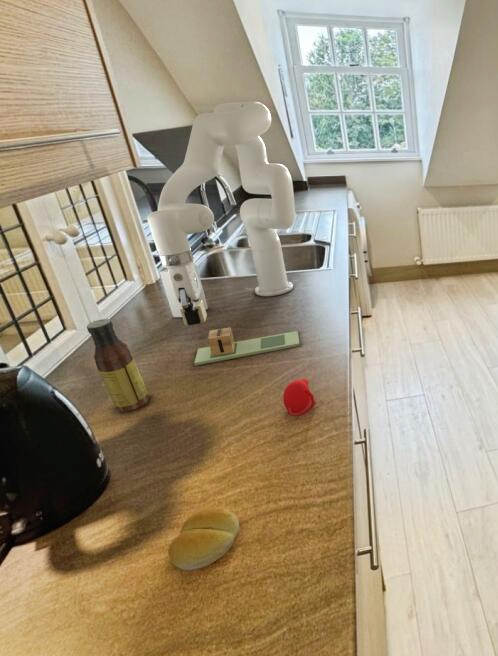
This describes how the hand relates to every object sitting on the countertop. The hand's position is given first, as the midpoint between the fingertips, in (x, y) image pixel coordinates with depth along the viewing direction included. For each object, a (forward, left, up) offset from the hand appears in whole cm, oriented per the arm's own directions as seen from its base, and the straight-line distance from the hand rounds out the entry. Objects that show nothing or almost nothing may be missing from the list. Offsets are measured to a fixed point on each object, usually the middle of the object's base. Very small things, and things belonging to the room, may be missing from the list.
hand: (195, 318), depth 126 cm
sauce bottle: (+33, -9, -5) cm, 34 cm away
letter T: (0, 0, -1) cm, 1 cm away
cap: (+49, +25, -5) cm, 55 cm away
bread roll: (+77, +10, -5) cm, 77 cm away
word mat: (+16, +14, -5) cm, 21 cm away
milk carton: (-17, -4, -5) cm, 19 cm away
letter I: (+16, +8, -4) cm, 18 cm away
